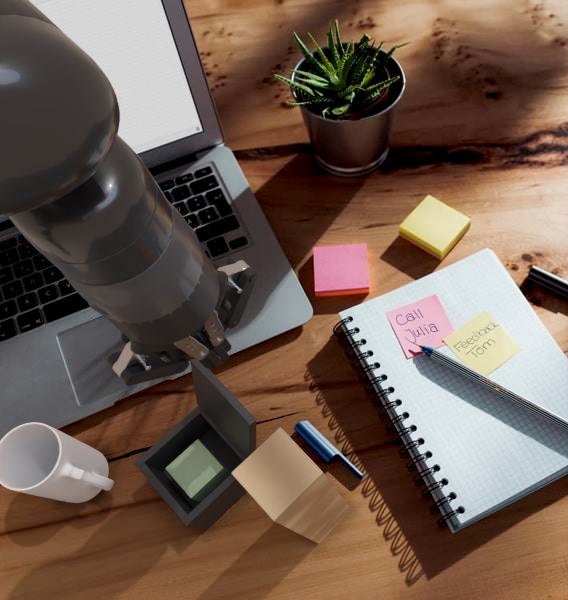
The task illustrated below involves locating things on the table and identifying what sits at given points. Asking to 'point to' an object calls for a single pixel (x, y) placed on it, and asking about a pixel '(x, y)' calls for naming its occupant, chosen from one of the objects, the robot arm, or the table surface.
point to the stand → (291, 488)
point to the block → (198, 471)
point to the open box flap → (224, 409)
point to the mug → (51, 464)
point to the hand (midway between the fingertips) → (216, 355)
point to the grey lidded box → (170, 490)
